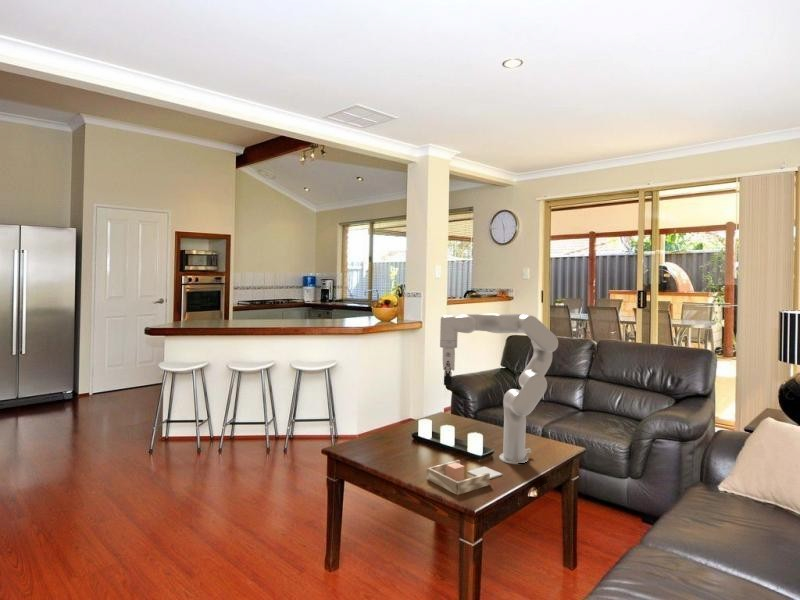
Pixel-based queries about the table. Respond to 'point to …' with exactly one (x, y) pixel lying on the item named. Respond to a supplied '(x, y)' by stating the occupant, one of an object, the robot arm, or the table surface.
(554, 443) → the table surface
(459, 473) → the terracotta cube
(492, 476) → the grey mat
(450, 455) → the table surface
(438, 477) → the birch box
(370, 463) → the table surface
